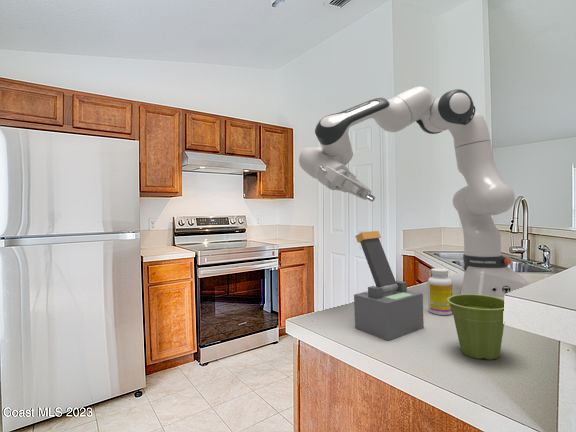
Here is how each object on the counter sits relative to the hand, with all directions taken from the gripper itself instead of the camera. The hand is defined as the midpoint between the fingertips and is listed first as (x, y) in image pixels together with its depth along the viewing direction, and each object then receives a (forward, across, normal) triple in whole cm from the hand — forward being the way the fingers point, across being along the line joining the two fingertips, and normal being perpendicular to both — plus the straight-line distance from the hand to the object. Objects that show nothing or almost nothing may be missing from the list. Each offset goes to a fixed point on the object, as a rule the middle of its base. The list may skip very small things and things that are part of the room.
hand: (366, 195), depth 96 cm
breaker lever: (+21, 0, +17) cm, 27 cm away
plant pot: (+45, -1, +16) cm, 48 cm away
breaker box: (+26, +2, +26) cm, 37 cm away
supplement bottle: (+30, +23, +18) cm, 42 cm away
